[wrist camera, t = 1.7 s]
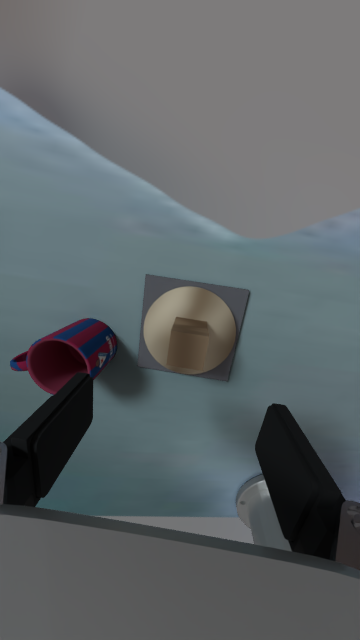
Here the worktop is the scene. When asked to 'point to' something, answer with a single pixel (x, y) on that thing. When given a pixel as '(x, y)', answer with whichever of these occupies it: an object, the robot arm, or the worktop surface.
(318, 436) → the worktop surface
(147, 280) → the mat
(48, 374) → the mug
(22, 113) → the worktop surface
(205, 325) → the lid
